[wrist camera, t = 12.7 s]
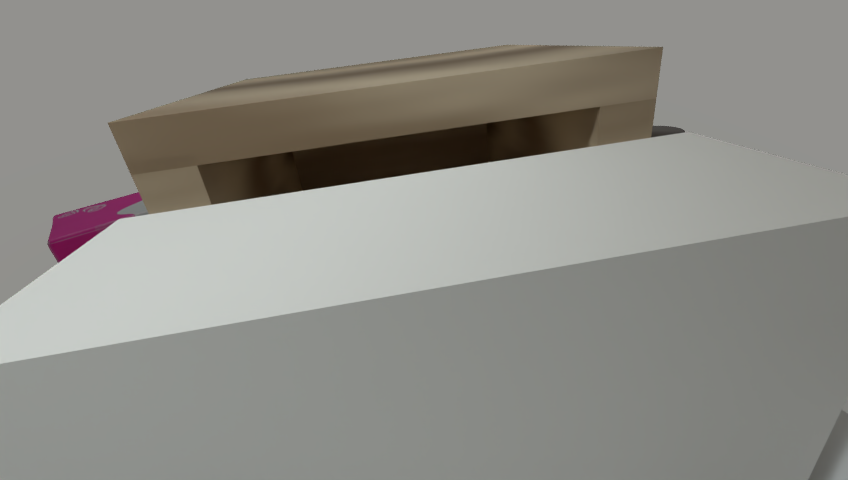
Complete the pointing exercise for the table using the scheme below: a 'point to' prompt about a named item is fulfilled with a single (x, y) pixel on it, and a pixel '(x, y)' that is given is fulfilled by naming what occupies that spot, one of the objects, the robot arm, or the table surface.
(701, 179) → the door
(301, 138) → the cabinet
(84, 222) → the supplement box
